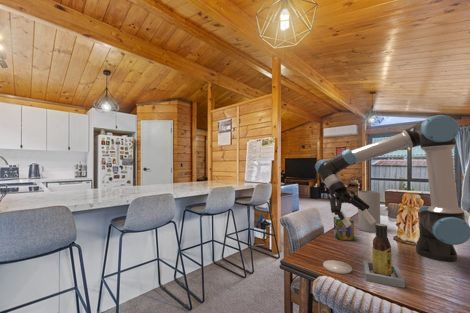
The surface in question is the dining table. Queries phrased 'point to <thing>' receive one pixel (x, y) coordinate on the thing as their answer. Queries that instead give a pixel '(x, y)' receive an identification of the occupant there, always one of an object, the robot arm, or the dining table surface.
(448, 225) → the robot arm
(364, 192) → the cylinder vase
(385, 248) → the sauce bottle
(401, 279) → the pocket frame
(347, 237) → the chalk box
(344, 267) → the coaster
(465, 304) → the dining table surface
